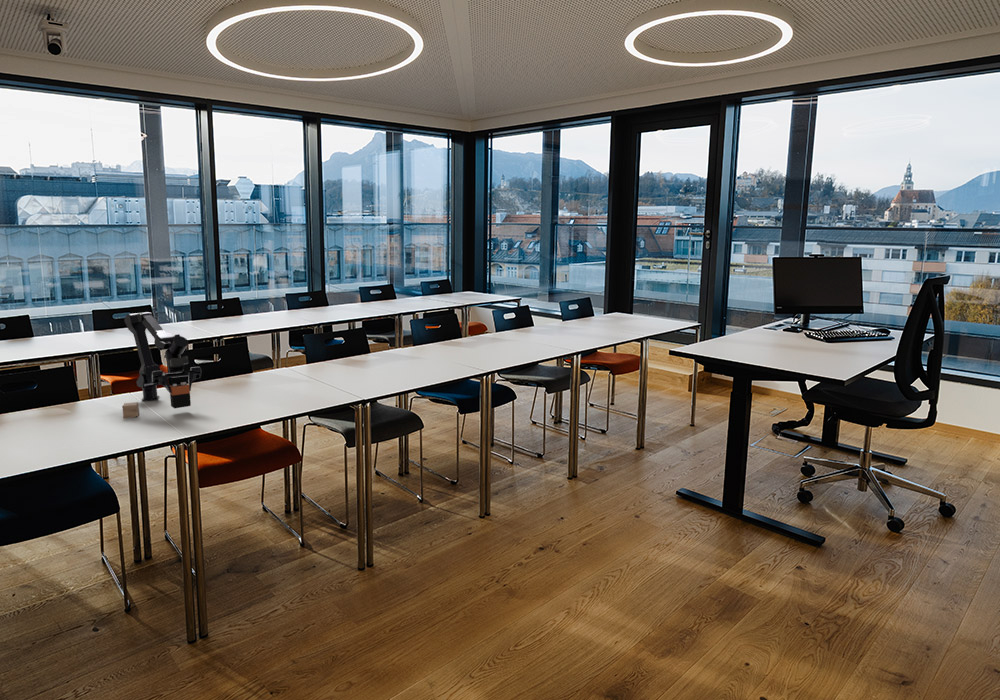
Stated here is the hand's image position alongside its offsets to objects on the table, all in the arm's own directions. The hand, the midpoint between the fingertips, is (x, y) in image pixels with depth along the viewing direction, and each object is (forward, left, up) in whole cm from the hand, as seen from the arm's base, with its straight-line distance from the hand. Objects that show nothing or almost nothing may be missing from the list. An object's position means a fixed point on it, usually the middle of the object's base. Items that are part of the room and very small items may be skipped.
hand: (180, 391), depth 281 cm
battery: (-1, 0, -7) cm, 7 cm away
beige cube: (-2, -19, -9) cm, 21 cm away
